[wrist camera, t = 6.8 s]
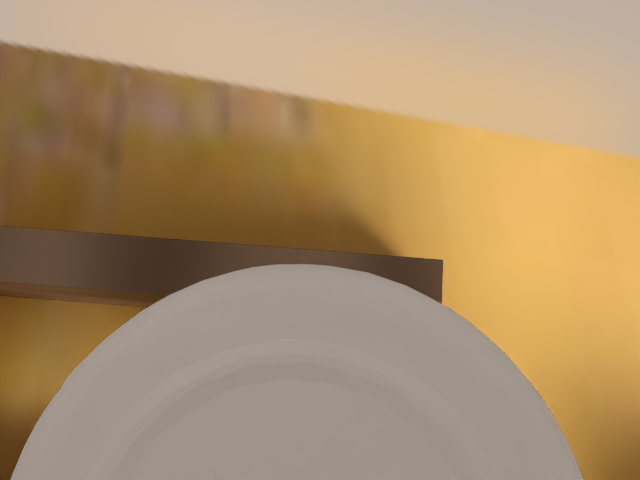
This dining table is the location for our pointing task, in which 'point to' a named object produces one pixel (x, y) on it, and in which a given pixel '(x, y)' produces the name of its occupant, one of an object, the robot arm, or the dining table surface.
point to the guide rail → (164, 265)
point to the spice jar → (297, 390)
